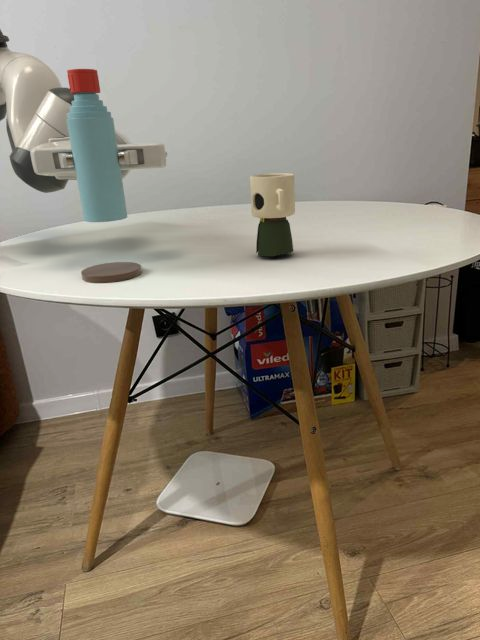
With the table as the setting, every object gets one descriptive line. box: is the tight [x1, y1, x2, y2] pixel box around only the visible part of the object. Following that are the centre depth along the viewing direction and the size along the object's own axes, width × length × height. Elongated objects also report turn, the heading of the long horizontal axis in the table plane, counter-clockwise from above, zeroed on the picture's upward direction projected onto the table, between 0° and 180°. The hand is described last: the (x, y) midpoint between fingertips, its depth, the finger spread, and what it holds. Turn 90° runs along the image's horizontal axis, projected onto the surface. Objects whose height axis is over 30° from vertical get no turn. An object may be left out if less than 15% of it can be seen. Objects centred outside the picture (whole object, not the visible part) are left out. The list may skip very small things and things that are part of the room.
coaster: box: [80, 261, 143, 284], centre depth 78 cm, size 9×9×1 cm
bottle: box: [66, 92, 128, 223], centre depth 73 cm, size 6×6×20 cm
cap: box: [66, 68, 101, 94], centre depth 69 cm, size 4×4×3 cm
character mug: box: [249, 172, 296, 258], centre depth 82 cm, size 11×7×13 cm, turn 15°
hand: (95, 160), depth 73 cm, fingers closed on bottle, 6 cm apart
